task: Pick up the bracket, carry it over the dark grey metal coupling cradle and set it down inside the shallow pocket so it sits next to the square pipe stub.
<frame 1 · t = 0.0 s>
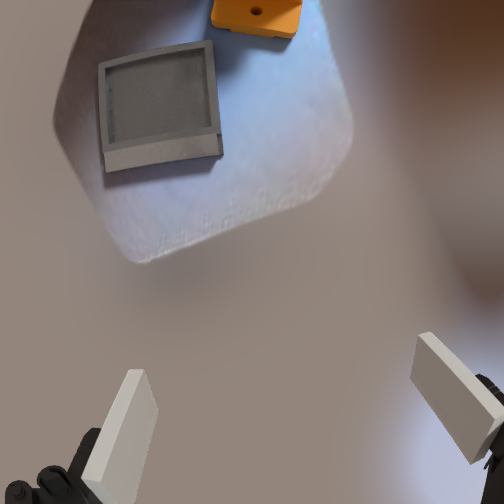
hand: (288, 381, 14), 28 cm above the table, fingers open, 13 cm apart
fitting: (158, 102, 35), on the table
bracket: (256, 13, 33), on the table
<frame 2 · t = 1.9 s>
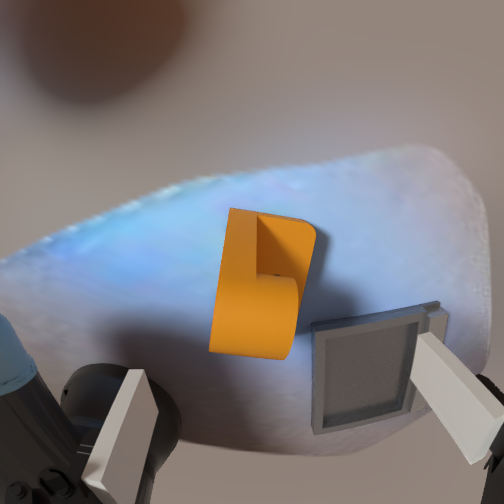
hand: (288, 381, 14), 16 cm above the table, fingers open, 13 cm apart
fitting: (370, 370, 33), on the table
bracket: (260, 270, 29), on the table
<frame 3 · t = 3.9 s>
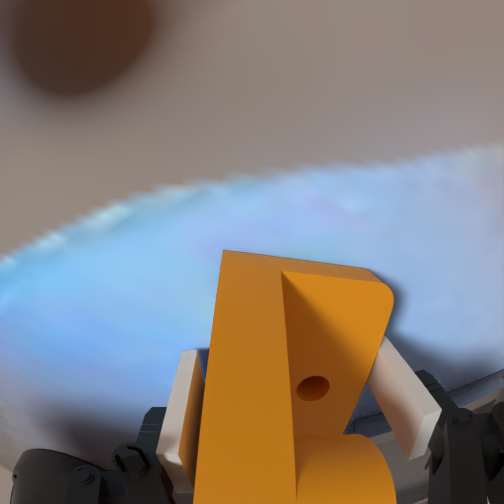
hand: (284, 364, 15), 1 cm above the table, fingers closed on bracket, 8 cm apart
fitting: (421, 456, 19), on the table
bracket: (281, 353, 16), on the table, touching gripper
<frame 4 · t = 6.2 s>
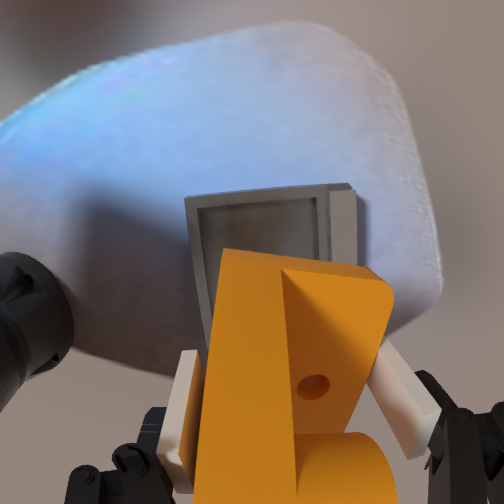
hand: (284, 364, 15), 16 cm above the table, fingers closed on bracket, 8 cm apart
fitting: (269, 266, 31), on the table
bracket: (282, 352, 16), point 15 cm above the table, touching gripper
when the fingers open (4 cm above the table, at t = 9.0 s): bracket drops 2 cm, resting on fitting.
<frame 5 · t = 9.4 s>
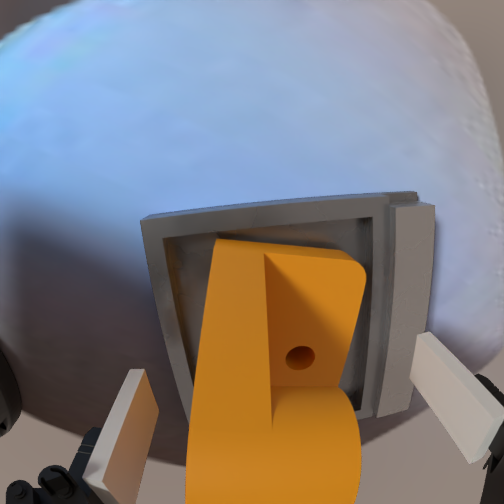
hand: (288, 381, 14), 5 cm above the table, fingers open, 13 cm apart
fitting: (288, 326, 19), on the table
bracket: (273, 330, 18), resting on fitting
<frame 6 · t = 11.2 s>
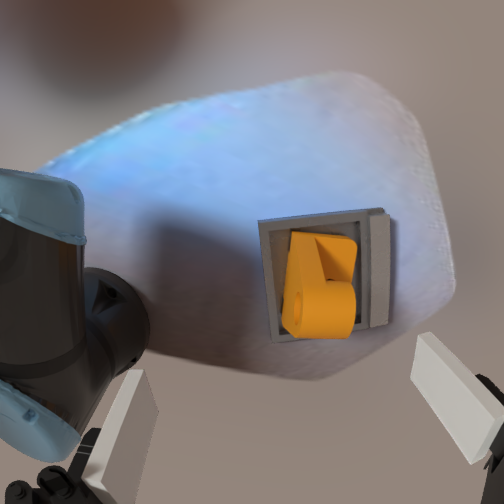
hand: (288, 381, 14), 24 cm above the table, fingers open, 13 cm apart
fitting: (322, 275, 38), on the table
bracket: (315, 276, 38), resting on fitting
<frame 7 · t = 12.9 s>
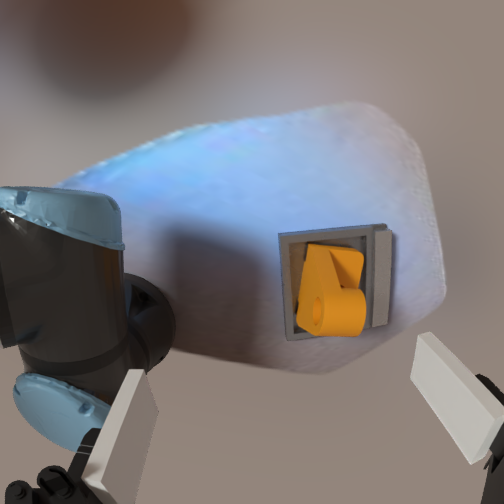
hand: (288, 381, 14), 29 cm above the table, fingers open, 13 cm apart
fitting: (331, 281, 43), on the table
bracket: (326, 282, 43), resting on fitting
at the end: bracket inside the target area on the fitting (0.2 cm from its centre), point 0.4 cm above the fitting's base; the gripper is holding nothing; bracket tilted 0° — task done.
